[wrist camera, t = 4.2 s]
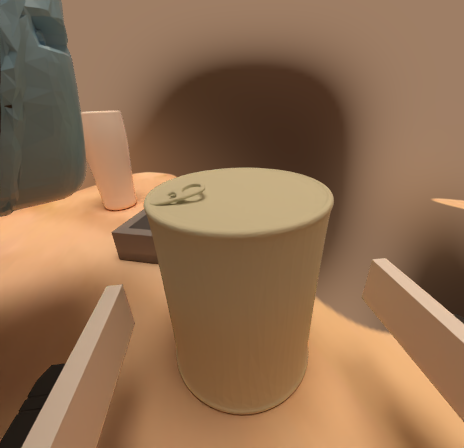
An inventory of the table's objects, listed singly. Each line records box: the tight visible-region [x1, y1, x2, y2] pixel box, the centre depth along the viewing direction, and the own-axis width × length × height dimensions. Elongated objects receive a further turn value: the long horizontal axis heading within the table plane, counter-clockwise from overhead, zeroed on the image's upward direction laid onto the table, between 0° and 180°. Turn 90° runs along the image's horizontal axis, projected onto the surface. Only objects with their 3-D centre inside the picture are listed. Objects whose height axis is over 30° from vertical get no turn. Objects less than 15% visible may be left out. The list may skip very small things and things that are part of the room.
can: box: [144, 168, 334, 415], centre depth 15 cm, size 9×9×12 cm
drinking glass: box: [81, 111, 136, 210], centre depth 39 cm, size 7×7×15 cm
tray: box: [112, 209, 159, 264], centre depth 31 cm, size 15×15×4 cm
